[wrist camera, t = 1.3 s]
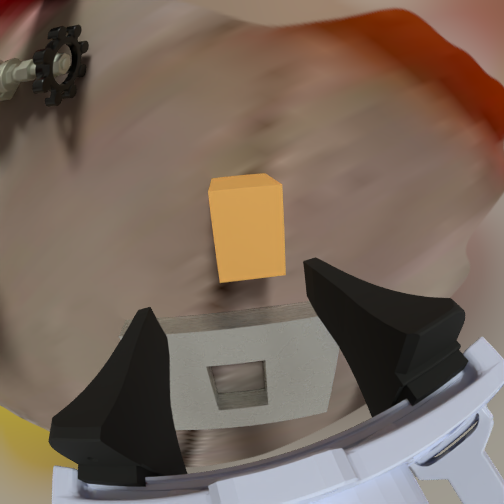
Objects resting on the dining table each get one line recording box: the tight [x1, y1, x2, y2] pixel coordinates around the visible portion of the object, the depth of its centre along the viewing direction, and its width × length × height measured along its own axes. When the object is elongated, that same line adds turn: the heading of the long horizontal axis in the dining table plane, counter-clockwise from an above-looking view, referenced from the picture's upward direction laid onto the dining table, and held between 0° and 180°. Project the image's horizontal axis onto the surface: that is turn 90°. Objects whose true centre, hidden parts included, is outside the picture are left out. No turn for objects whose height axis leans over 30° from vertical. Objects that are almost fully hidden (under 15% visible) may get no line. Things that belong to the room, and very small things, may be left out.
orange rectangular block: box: [208, 173, 286, 283], centre depth 18 cm, size 4×6×6 cm
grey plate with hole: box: [119, 301, 339, 430], centre depth 26 cm, size 20×16×2 cm
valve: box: [0, 25, 89, 107], centre depth 11 cm, size 7×7×12 cm
